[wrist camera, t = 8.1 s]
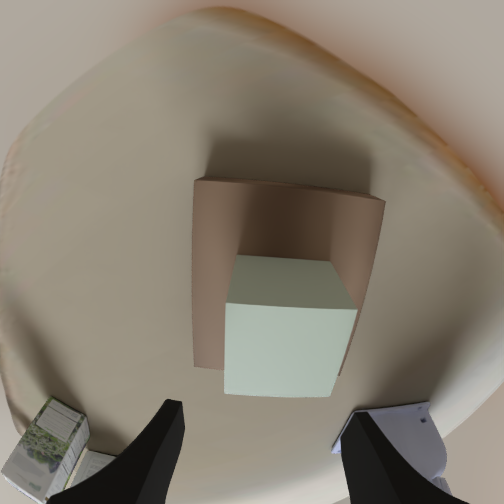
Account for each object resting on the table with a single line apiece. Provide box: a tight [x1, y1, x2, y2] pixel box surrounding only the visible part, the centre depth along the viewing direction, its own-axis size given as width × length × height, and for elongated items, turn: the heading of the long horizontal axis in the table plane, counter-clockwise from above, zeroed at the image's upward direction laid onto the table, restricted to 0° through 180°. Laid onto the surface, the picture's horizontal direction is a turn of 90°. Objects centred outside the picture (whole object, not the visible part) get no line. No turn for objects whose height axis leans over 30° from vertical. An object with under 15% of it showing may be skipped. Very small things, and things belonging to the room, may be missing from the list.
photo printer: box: [70, 451, 116, 487], centre depth 23 cm, size 10×4×12 cm, turn 102°
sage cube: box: [224, 255, 358, 397], centre depth 13 cm, size 5×5×5 cm
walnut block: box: [192, 176, 386, 376], centre depth 17 cm, size 10×12×3 cm
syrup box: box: [1, 396, 90, 504], centre depth 19 cm, size 6×6×14 cm
